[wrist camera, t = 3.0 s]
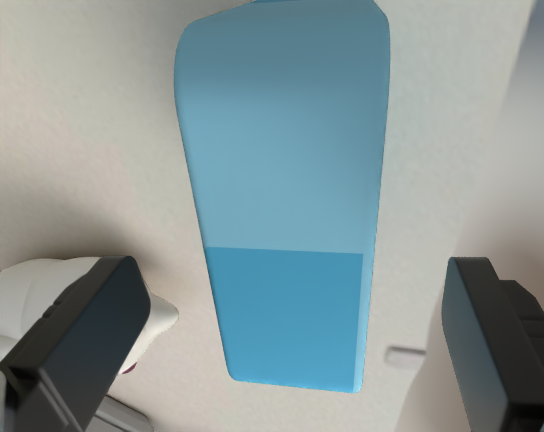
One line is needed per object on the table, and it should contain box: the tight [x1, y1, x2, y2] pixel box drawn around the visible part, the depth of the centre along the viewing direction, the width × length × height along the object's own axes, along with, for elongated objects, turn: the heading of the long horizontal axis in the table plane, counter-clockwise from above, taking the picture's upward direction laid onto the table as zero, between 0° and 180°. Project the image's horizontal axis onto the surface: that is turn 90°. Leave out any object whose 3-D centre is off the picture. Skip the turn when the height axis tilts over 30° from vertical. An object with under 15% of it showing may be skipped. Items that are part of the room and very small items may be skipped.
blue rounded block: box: [174, 0, 390, 393], centre depth 15 cm, size 12×4×12 cm, turn 4°
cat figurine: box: [0, 257, 179, 376], centre depth 26 cm, size 10×8×15 cm
